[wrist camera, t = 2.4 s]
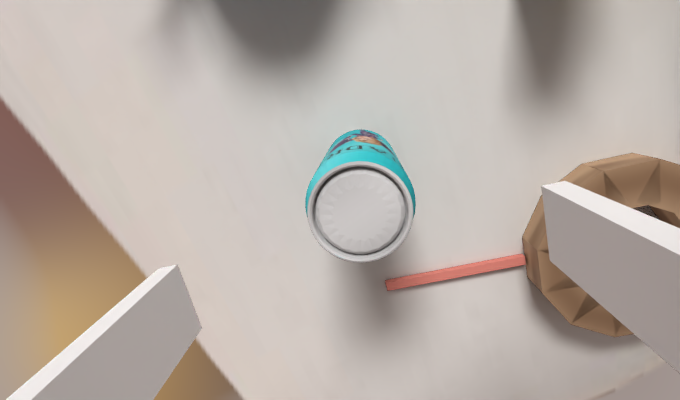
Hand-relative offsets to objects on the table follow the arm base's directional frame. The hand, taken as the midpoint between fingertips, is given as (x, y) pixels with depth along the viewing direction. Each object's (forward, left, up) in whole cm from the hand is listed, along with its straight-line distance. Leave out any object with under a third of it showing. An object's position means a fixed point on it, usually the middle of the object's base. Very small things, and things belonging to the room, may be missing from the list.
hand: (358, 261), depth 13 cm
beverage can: (0, 0, -20) cm, 20 cm away
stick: (+12, +6, -20) cm, 24 cm away
